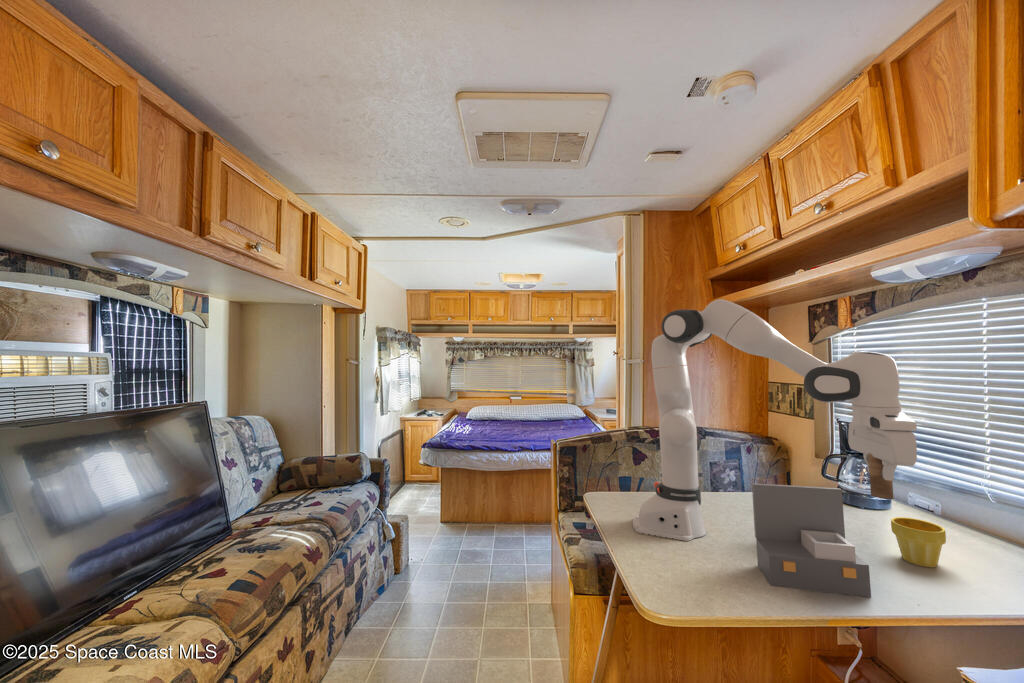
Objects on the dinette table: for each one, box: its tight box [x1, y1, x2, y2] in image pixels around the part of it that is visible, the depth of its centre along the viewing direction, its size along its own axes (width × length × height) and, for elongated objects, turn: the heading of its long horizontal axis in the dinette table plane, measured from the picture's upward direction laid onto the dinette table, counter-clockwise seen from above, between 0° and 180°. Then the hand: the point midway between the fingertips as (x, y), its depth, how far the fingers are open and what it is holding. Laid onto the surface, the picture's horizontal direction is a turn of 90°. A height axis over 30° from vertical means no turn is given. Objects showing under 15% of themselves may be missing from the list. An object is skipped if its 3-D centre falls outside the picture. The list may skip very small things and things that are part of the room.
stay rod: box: [868, 453, 894, 500], centre depth 96 cm, size 4×4×10 cm
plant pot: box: [890, 516, 947, 568], centre depth 107 cm, size 10×10×10 cm
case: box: [751, 482, 872, 598], centre depth 99 cm, size 20×12×21 cm, turn 74°
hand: (880, 476), depth 96 cm, fingers closed on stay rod, 4 cm apart
